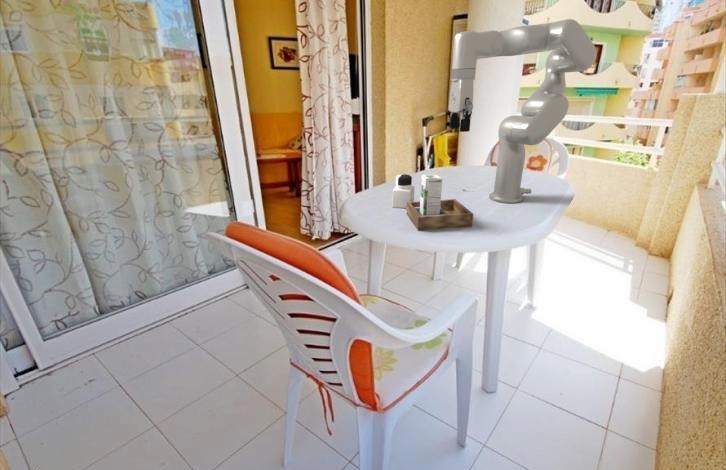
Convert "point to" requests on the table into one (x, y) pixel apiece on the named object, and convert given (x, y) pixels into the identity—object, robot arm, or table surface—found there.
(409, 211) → the walled box
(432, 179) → the syrup box
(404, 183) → the medicine bottle
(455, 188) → the table surface
